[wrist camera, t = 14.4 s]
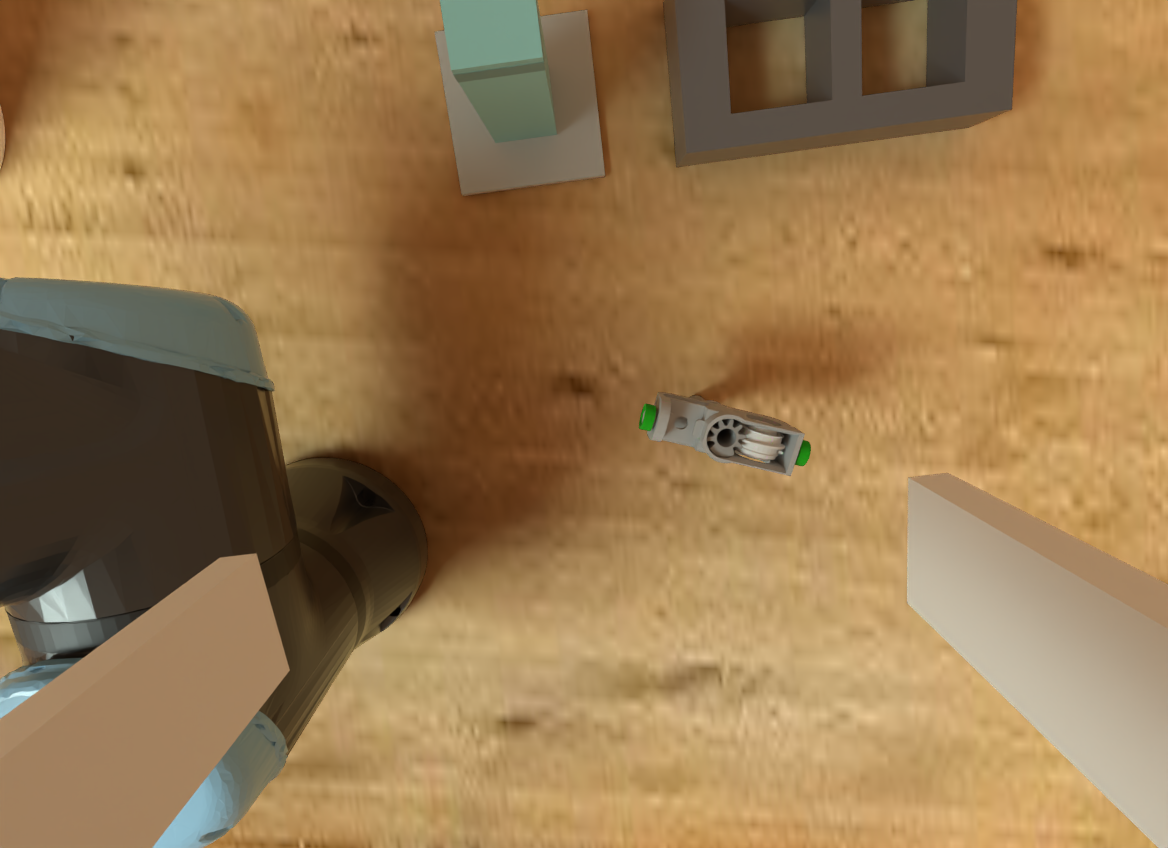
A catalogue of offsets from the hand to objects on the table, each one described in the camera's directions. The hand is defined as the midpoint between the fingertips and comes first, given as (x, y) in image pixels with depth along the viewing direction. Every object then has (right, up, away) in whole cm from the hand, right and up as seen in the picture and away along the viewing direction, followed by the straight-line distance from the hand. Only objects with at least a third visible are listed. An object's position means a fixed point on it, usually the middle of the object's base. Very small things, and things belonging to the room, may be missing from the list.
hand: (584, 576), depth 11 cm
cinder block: (+16, +27, +26) cm, 41 cm away
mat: (-4, +25, +27) cm, 37 cm away
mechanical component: (+8, +5, +32) cm, 33 cm away
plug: (-4, +24, +26) cm, 36 cm away
